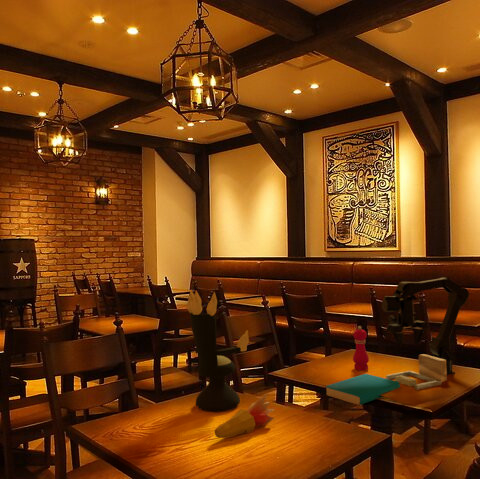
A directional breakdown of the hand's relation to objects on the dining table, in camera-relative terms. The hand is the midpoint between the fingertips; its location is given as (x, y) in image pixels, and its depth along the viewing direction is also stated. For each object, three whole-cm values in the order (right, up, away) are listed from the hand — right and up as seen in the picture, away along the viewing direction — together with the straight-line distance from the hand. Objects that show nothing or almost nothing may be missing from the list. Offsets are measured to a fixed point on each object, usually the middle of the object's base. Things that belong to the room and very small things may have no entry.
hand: (407, 346), depth 213 cm
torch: (-72, -16, -55) cm, 92 cm away
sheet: (+7, -13, -9) cm, 17 cm away
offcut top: (-6, -12, -15) cm, 20 cm away
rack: (-2, -13, -13) cm, 19 cm away
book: (-25, -15, -21) cm, 36 cm away
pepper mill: (-17, -14, +14) cm, 26 cm away
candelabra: (-83, -16, -32) cm, 90 cm away
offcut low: (-6, -14, -15) cm, 21 cm away
